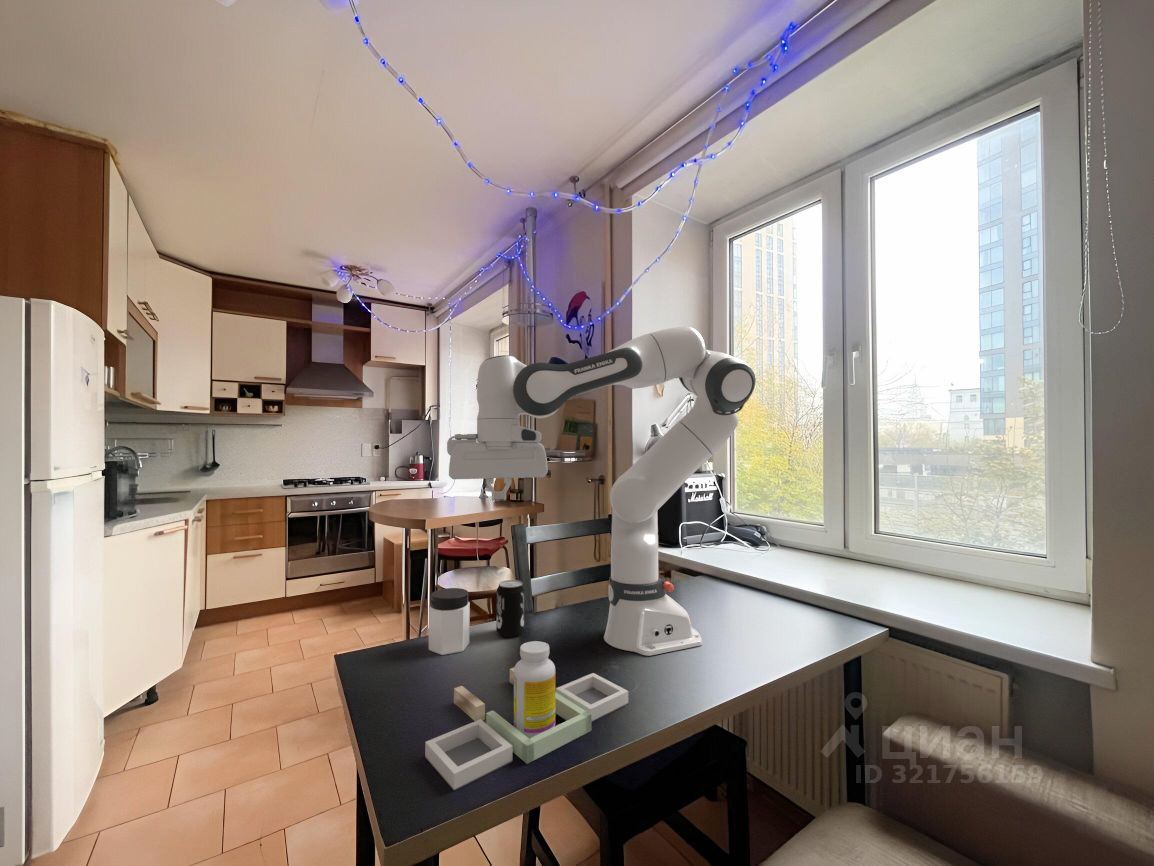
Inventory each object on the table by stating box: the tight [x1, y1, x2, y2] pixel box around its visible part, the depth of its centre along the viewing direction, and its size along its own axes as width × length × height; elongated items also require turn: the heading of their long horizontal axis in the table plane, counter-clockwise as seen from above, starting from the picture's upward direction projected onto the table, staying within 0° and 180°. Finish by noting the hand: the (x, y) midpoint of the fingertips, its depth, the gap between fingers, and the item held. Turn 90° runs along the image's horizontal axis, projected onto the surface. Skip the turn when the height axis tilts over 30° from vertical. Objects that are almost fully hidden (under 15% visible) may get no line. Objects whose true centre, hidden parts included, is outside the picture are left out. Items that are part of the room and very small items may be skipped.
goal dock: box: [485, 691, 593, 765], centre depth 77 cm, size 11×12×2 cm
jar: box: [428, 587, 471, 656], centre depth 108 cm, size 9×8×12 cm
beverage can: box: [495, 579, 525, 639], centre depth 116 cm, size 7×7×12 cm
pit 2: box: [555, 672, 629, 723], centre depth 85 cm, size 9×9×2 cm
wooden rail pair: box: [453, 666, 515, 722], centre depth 86 cm, size 8×13×2 cm, turn 131°
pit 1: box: [424, 719, 514, 792], centre depth 69 cm, size 9×9×2 cm
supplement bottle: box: [513, 640, 556, 739], centre depth 77 cm, size 7×7×13 cm
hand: (498, 500), depth 100 cm, fingers closed
